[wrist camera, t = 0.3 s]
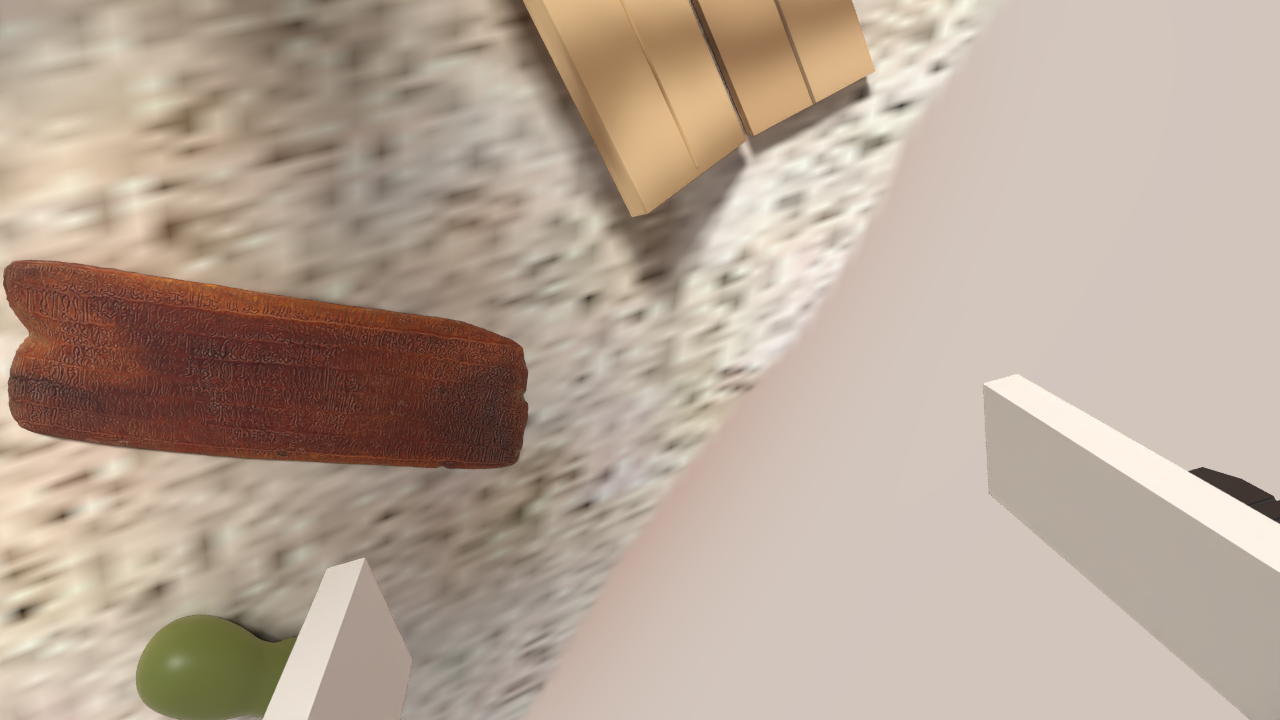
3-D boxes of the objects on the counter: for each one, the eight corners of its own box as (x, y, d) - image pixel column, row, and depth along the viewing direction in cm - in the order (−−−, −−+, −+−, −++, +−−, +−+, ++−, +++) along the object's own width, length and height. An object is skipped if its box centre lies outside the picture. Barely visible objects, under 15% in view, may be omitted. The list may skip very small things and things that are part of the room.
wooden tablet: (22, 427, 38) (1, 441, 37) (9, 246, 35) (-16, 253, 34) (517, 482, 44) (516, 496, 42) (543, 328, 41) (543, 337, 39)
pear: (143, 654, 37) (335, 687, 42) (172, 586, 42) (342, 621, 46) (107, 731, 38) (297, 755, 43) (139, 656, 43) (308, 685, 48)
